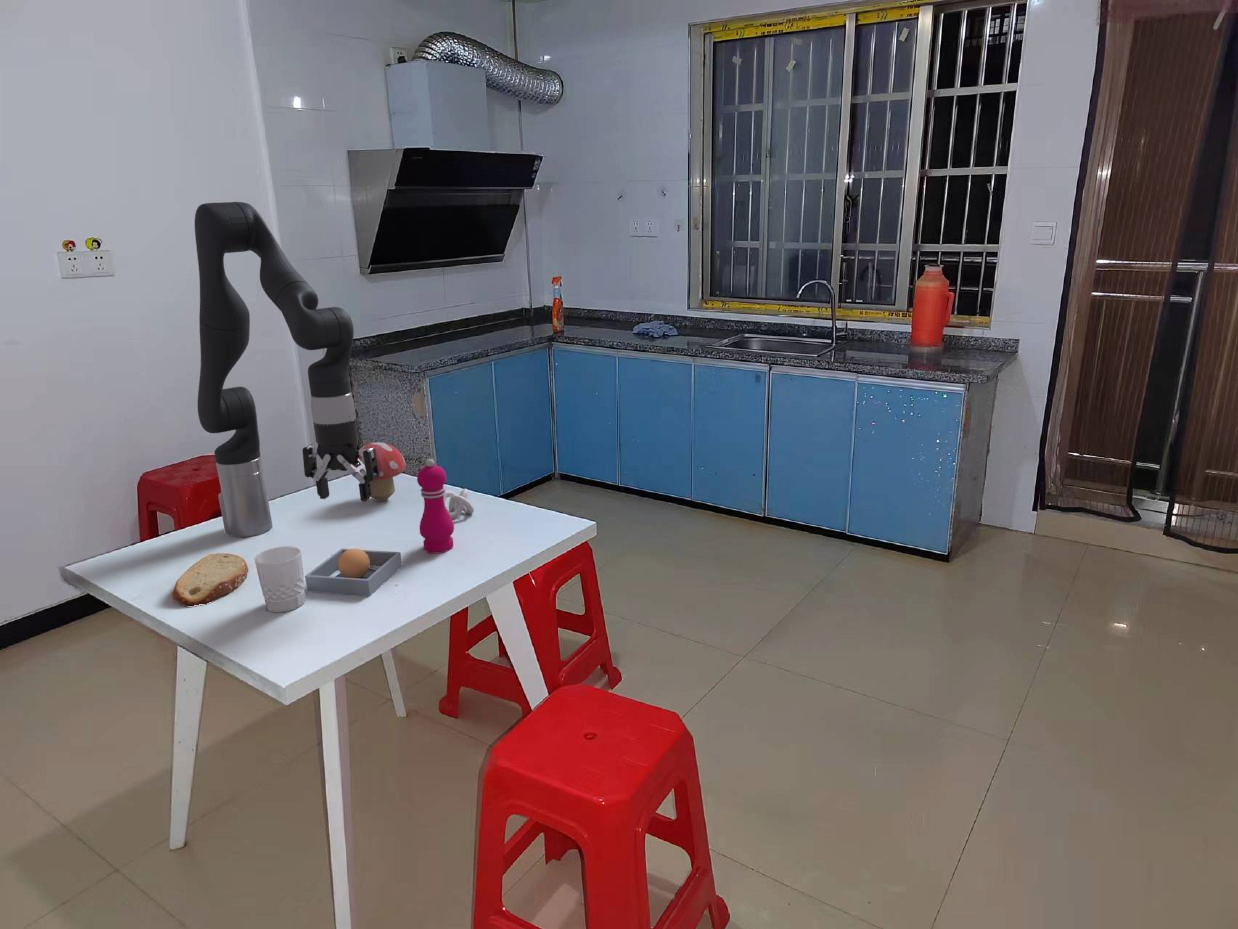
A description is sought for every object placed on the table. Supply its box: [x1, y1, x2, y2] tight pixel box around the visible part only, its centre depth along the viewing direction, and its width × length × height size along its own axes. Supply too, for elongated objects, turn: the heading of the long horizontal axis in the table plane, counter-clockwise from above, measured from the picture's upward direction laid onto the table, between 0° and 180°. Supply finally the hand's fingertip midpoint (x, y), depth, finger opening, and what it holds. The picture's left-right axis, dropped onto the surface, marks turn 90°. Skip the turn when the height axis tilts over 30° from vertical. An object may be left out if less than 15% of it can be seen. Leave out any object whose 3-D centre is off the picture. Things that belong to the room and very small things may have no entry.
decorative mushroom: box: [352, 442, 407, 502], centre depth 197 cm, size 13×13×15 cm
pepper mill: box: [416, 458, 455, 554], centre depth 167 cm, size 7×7×20 cm
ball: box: [338, 548, 371, 578], centre depth 155 cm, size 6×6×6 cm
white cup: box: [253, 545, 306, 613], centre depth 145 cm, size 8×8×10 cm
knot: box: [444, 488, 474, 520], centre depth 188 cm, size 8×8×6 cm
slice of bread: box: [171, 552, 249, 607], centre depth 156 cm, size 18×18×4 cm
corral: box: [304, 547, 403, 597], centre depth 156 cm, size 13×13×3 cm
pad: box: [334, 567, 378, 579], centre depth 156 cm, size 9×9×1 cm
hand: (345, 499), depth 151 cm, fingers open, 8 cm apart
